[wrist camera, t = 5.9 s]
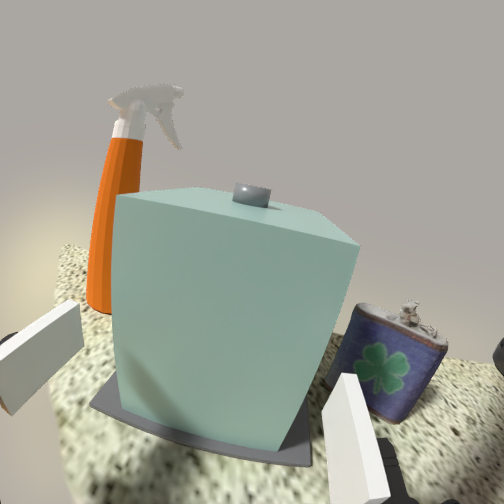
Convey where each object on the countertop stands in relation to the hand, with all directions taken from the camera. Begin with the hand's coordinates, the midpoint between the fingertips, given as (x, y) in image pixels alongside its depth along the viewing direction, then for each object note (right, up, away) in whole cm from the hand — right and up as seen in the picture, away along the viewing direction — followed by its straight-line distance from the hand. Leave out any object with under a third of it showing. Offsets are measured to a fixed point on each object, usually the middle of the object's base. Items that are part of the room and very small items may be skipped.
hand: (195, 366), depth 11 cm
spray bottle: (-13, -1, +20) cm, 24 cm away
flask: (+13, -9, +10) cm, 19 cm away
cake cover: (0, -5, +10) cm, 12 cm away
